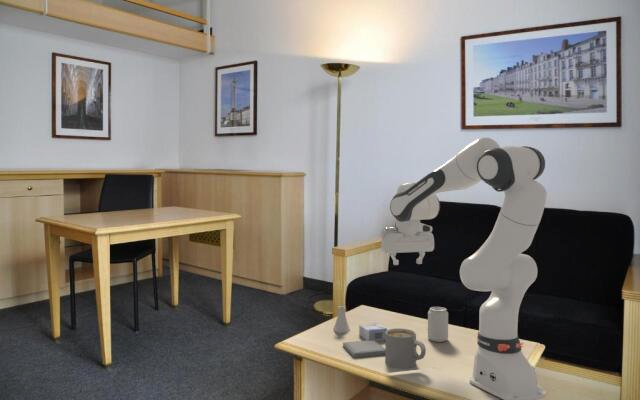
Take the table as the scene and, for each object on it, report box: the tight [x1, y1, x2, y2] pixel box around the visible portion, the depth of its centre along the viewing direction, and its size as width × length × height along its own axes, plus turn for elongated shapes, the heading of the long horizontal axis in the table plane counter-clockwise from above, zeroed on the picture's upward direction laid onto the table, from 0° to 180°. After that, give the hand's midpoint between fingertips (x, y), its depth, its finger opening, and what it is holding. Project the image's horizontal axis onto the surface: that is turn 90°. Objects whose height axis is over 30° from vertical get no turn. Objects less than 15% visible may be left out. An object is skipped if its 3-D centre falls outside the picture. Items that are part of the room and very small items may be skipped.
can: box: [427, 306, 449, 343], centre depth 190 cm, size 8×8×12 cm
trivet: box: [342, 340, 385, 359], centre depth 178 cm, size 12×12×2 cm
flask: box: [332, 305, 351, 334], centre depth 199 cm, size 7×7×10 cm
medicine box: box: [358, 322, 388, 342], centre depth 192 cm, size 8×4×9 cm
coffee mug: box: [384, 327, 427, 369], centre depth 164 cm, size 13×10×10 cm
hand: (407, 264), depth 187 cm, fingers open, 8 cm apart
